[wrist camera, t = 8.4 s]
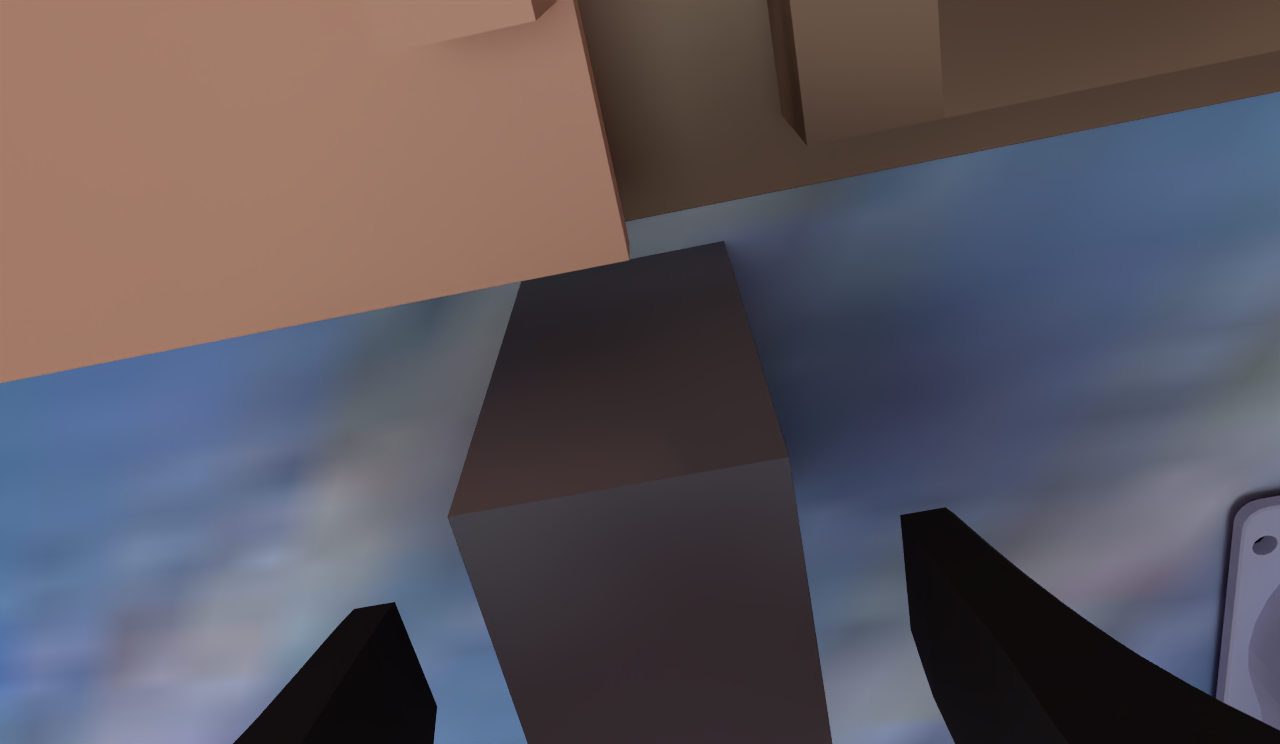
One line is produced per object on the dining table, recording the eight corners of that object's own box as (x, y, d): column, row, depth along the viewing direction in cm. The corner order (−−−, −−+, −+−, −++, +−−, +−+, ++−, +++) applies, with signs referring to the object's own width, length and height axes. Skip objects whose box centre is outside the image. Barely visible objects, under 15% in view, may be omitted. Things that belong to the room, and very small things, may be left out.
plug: (766, 498, 20) (843, 814, 13) (589, 528, 20) (567, 854, 13) (723, 241, 17) (789, 456, 10) (521, 279, 18) (447, 517, 11)
